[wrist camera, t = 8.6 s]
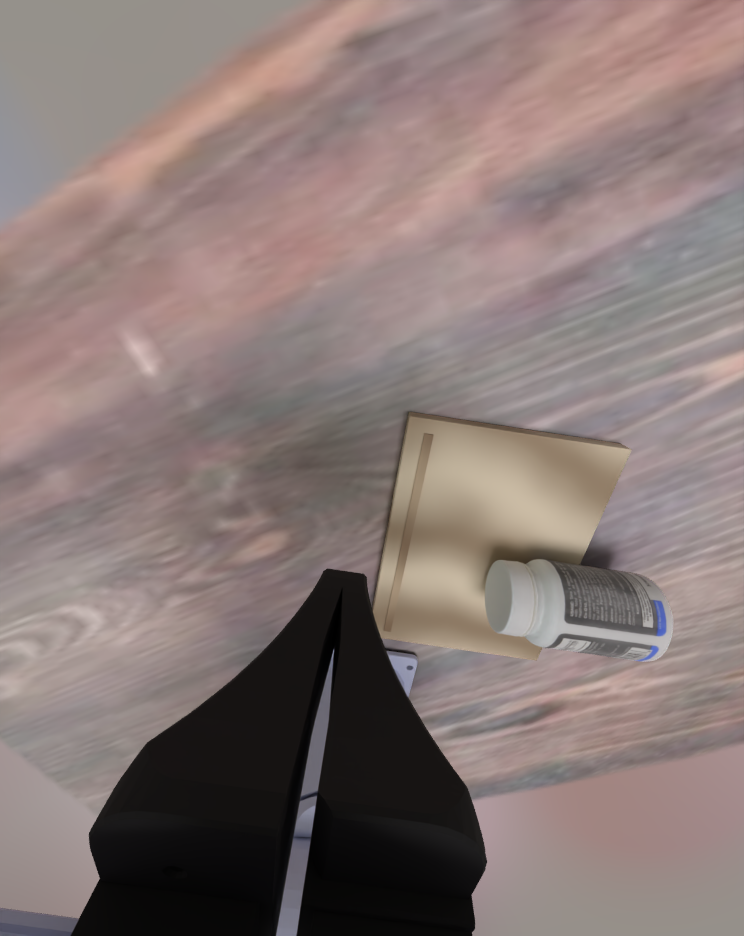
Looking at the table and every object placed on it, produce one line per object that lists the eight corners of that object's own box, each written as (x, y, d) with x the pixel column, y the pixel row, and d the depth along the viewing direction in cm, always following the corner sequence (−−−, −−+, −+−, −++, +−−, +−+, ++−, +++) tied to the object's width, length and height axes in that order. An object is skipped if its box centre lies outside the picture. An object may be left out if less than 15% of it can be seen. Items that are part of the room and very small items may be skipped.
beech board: (531, 648, 26) (537, 661, 25) (369, 625, 26) (368, 637, 25) (620, 443, 20) (632, 450, 19) (408, 411, 20) (409, 416, 19)
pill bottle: (622, 561, 23) (491, 540, 22) (687, 598, 18) (522, 572, 18) (604, 631, 23) (476, 611, 23) (662, 684, 19) (502, 660, 18)
